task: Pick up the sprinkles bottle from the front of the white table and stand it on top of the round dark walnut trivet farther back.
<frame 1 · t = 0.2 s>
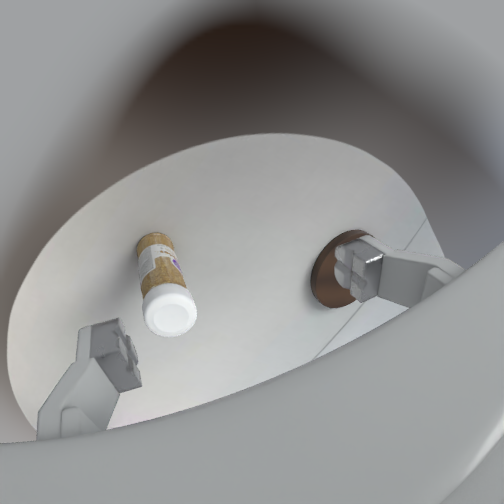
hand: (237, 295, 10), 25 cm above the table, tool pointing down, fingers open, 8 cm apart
sprinkles bottle: (154, 248, 34), on the table
trivet: (345, 268, 48), on the table
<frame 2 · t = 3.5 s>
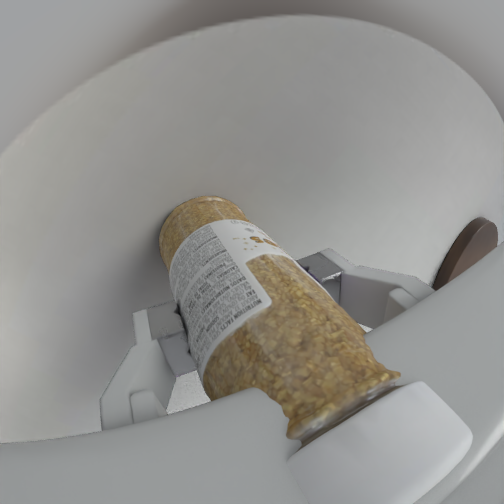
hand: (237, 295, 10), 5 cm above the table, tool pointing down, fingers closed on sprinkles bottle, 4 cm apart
sprinkles bottle: (201, 236, 15), on the table, touching gripper
trivet: (462, 272, 29), on the table
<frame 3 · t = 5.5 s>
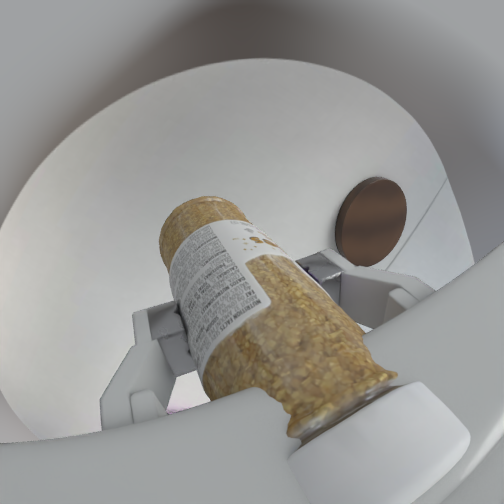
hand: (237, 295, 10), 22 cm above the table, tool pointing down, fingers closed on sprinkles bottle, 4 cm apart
sprinkles bottle: (201, 236, 15), point 17 cm above the table, touching gripper
trivet: (370, 221, 43), on the table
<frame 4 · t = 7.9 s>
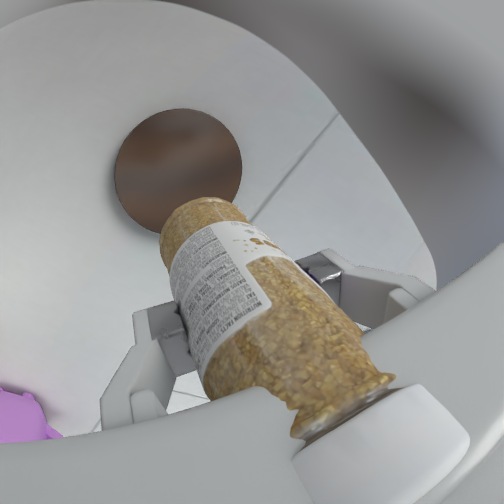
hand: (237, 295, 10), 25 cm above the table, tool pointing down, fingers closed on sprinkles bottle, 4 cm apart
sprinkles bottle: (202, 237, 15), point 19 cm above the table, touching gripper
teapot: (15, 402, 34), on the table
trivet: (177, 171, 31), on the table
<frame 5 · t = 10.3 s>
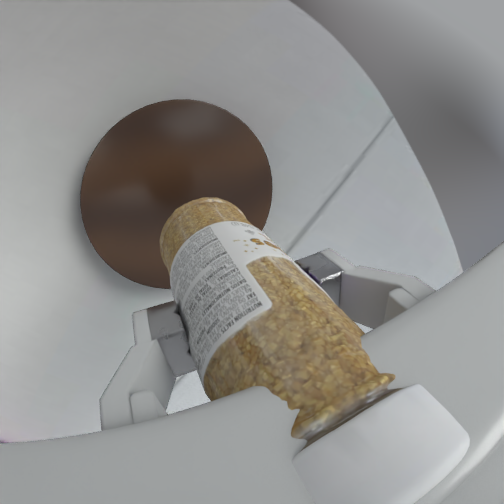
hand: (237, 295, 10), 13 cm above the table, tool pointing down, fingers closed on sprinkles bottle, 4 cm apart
sprinkles bottle: (202, 237, 15), point 8 cm above the table, touching gripper
trivet: (176, 195, 21), on the table
when the fingers open (7 cm above the table, at t = 12.2 s): sprinkles bottle stays where it is, resting on trivet.
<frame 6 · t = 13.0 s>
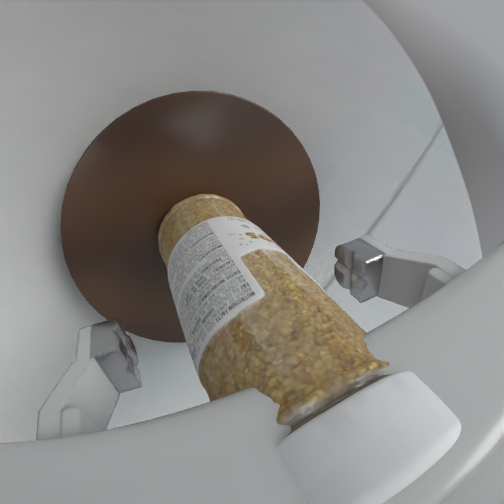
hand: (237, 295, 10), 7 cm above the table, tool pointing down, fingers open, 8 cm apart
sprinkles bottle: (199, 233, 15), point 1 cm above the table, touching trivet
trivet: (194, 224, 16), on the table
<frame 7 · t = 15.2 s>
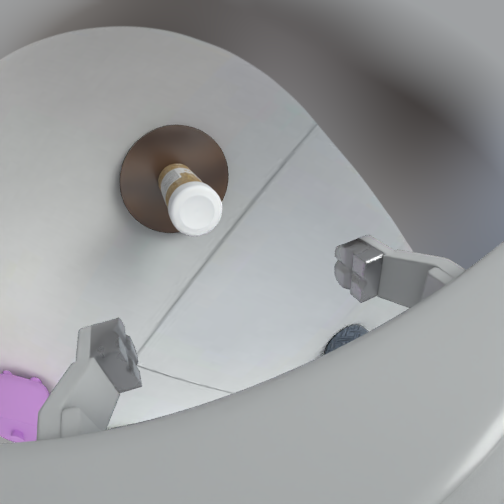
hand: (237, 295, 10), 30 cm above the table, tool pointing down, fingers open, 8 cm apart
vase: (343, 342, 67), on the table
sprinkles bottle: (175, 180, 36), point 1 cm above the table, touching trivet
teapot: (22, 387, 40), on the table
trivet: (173, 178, 37), on the table
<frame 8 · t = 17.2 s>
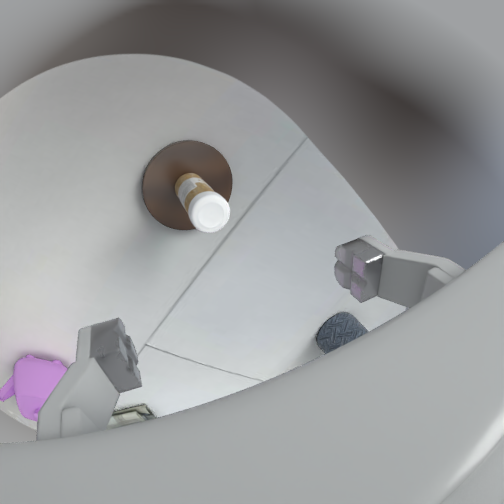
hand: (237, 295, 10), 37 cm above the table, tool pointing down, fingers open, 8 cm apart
dish towel: (127, 425, 64), on the table
vase: (334, 329, 76), on the table
sprinkles bottle: (188, 186, 44), point 1 cm above the table, touching trivet
teapot: (43, 370, 48), on the table
trivet: (186, 184, 45), on the table
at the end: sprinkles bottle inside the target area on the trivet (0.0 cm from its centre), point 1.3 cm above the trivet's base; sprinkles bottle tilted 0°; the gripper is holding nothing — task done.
